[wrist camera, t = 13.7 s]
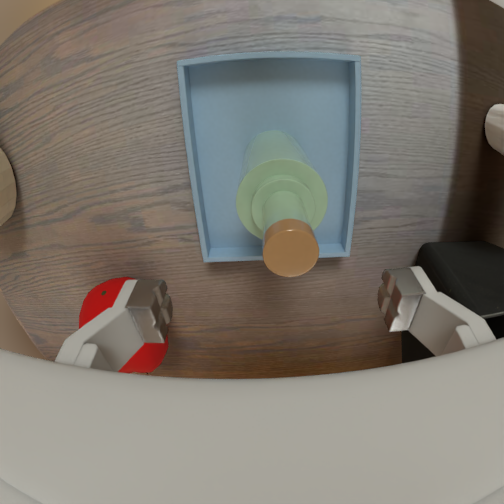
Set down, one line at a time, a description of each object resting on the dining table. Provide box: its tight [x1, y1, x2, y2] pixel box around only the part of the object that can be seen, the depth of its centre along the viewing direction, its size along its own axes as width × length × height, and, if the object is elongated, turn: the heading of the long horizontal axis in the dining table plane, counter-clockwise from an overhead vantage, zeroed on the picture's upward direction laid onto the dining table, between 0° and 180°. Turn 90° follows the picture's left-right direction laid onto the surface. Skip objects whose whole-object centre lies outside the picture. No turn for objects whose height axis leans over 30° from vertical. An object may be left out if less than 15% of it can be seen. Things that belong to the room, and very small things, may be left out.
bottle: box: [236, 130, 328, 277], centre depth 21 cm, size 6×6×17 cm
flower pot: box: [401, 241, 504, 363], centre depth 29 cm, size 19×19×17 cm
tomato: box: [79, 277, 168, 374], centre depth 35 cm, size 13×13×13 cm
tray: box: [177, 52, 361, 262], centre depth 27 cm, size 21×16×3 cm
